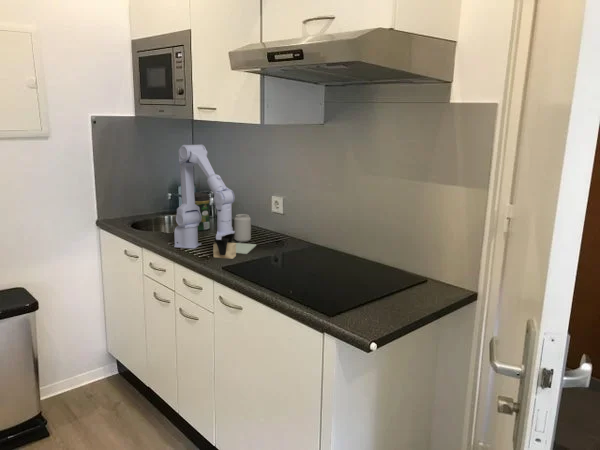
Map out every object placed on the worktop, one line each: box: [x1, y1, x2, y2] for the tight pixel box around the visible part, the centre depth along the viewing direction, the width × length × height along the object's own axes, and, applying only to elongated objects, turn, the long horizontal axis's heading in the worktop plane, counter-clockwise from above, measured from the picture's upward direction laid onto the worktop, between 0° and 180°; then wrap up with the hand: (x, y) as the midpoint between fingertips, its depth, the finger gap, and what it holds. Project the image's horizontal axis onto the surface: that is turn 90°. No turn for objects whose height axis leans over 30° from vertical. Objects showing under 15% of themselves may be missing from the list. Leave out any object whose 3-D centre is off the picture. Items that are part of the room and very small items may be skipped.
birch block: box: [212, 242, 237, 259], centre depth 196 cm, size 8×4×6 cm, turn 79°
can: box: [233, 213, 252, 243], centre depth 221 cm, size 8×8×12 cm
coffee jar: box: [190, 191, 211, 232], centre depth 241 cm, size 10×8×19 cm
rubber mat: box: [235, 242, 257, 255], centre depth 209 cm, size 15×14×1 cm
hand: (224, 253), depth 196 cm, fingers open, 5 cm apart
